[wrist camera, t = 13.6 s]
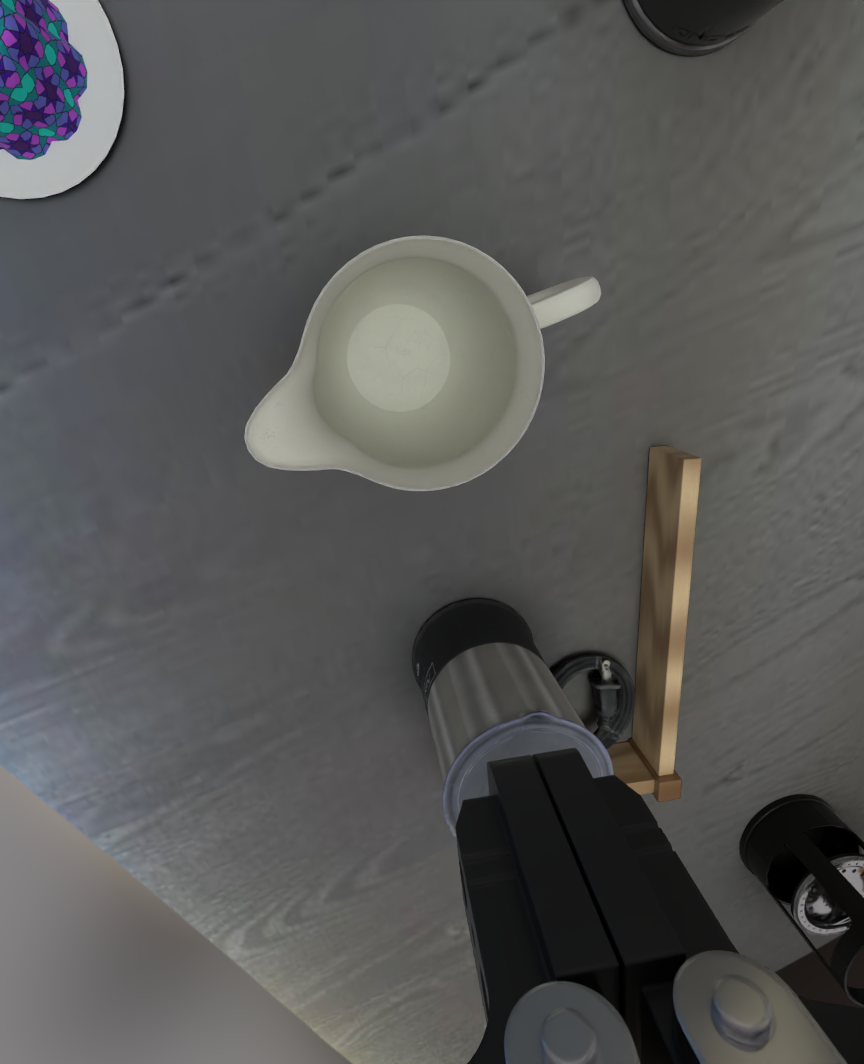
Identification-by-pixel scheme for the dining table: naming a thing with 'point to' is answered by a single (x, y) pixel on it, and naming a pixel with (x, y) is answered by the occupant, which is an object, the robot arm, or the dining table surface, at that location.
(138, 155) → the dining table surface
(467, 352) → the pitcher
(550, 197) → the dining table surface
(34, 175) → the pudding
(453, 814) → the milk frother
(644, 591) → the corner rail
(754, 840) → the french press
